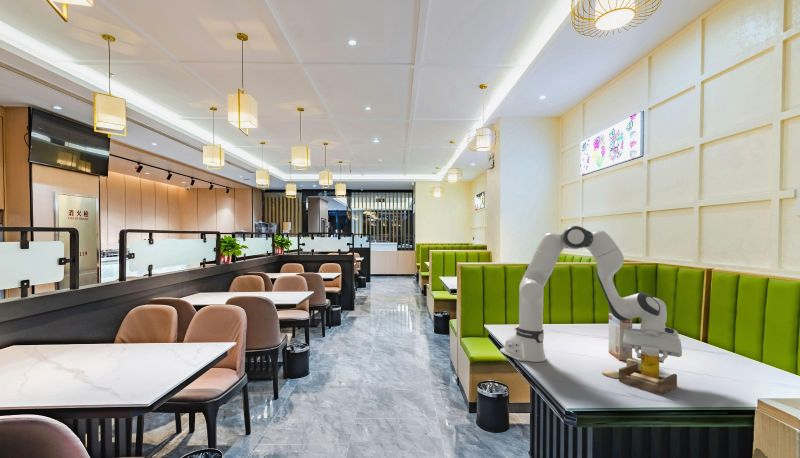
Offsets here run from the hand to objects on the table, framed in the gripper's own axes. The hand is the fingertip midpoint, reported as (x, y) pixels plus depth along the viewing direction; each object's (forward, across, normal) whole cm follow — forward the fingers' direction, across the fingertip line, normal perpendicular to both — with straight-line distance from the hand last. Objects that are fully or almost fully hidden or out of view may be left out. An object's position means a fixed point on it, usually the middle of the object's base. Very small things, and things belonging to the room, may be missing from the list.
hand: (649, 359), depth 141 cm
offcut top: (-8, -7, +19) cm, 21 cm away
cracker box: (-15, -16, +29) cm, 36 cm away
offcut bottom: (+11, -1, +3) cm, 11 cm away
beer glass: (+6, 0, +7) cm, 10 cm away
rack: (+8, -1, +5) cm, 10 cm away
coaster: (+8, -13, +6) cm, 16 cm away
